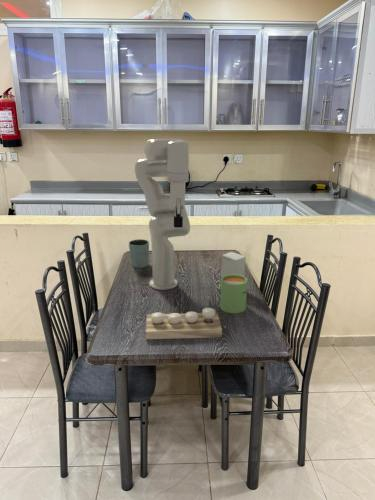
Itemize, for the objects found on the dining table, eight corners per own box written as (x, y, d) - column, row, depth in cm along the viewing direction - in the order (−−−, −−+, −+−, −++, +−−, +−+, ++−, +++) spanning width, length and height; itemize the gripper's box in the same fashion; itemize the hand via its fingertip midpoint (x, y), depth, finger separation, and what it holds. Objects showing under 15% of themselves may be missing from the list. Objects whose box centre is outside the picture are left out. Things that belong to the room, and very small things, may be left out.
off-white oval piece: (151, 324, 142) (151, 312, 141) (164, 324, 142) (163, 312, 141) (151, 331, 138) (151, 318, 136) (164, 330, 138) (163, 318, 137)
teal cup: (145, 269, 194) (144, 246, 190) (126, 267, 197) (125, 244, 193) (152, 262, 204) (152, 240, 200) (134, 260, 206) (133, 238, 202)
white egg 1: (168, 325, 143) (168, 313, 141) (180, 325, 143) (180, 312, 141) (168, 331, 139) (168, 319, 137) (181, 331, 139) (181, 318, 137)
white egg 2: (185, 324, 143) (185, 311, 141) (197, 323, 143) (197, 311, 141) (185, 330, 139) (185, 317, 137) (198, 330, 139) (198, 317, 137)
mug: (246, 314, 152) (247, 285, 148) (218, 312, 153) (219, 283, 149) (247, 299, 163) (249, 273, 159) (222, 297, 165) (223, 271, 161)
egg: (201, 320, 143) (201, 307, 141) (213, 319, 143) (214, 307, 141) (202, 326, 139) (203, 313, 137) (215, 326, 139) (215, 313, 137)
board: (147, 321, 146) (147, 314, 145) (217, 319, 147) (217, 312, 146) (145, 339, 135) (145, 331, 134) (221, 337, 136) (222, 329, 135)
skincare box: (219, 287, 174) (220, 254, 169) (229, 283, 178) (231, 251, 173) (234, 294, 168) (235, 259, 163) (244, 289, 173) (246, 256, 167)
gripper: (167, 173, 147) (167, 221, 153) (167, 180, 133) (168, 232, 139) (187, 173, 147) (187, 221, 153) (189, 180, 133) (189, 232, 139)
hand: (178, 226), depth 146 cm, fingers closed
